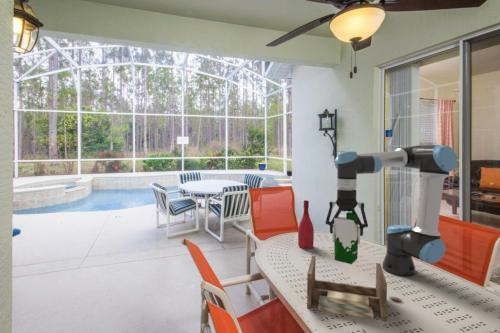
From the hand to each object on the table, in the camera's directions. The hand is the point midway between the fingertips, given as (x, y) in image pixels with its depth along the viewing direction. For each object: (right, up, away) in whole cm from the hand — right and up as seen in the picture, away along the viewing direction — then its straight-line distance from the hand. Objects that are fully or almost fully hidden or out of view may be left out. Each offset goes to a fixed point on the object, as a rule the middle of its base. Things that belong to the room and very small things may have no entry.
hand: (346, 241), depth 117 cm
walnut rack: (-1, -24, -2) cm, 24 cm away
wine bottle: (-4, -20, +63) cm, 66 cm away
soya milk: (0, -8, 0) cm, 8 cm away
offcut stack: (-3, -25, -8) cm, 26 cm away
